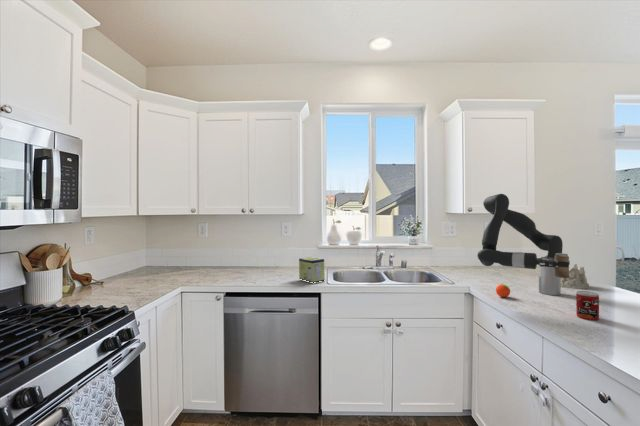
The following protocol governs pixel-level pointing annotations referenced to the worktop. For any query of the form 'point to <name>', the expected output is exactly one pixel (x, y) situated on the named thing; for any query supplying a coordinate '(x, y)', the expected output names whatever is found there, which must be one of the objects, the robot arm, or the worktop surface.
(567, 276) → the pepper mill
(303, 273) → the protein box
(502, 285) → the clementine
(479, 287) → the worktop surface
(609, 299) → the worktop surface
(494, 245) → the robot arm
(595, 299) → the canned food
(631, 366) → the worktop surface
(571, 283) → the beige irregular lump
